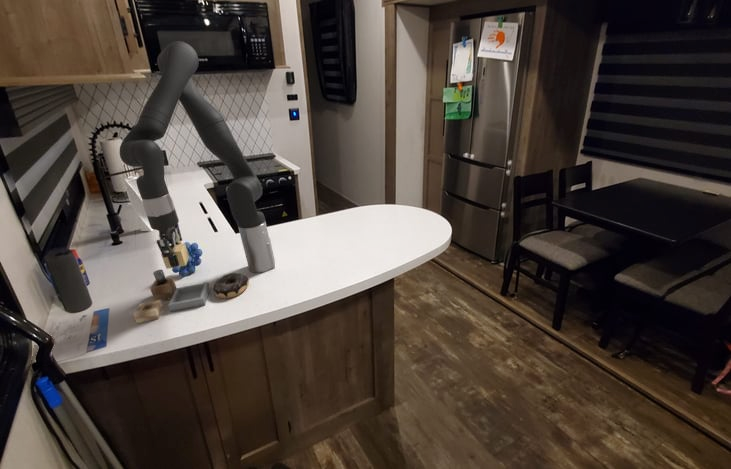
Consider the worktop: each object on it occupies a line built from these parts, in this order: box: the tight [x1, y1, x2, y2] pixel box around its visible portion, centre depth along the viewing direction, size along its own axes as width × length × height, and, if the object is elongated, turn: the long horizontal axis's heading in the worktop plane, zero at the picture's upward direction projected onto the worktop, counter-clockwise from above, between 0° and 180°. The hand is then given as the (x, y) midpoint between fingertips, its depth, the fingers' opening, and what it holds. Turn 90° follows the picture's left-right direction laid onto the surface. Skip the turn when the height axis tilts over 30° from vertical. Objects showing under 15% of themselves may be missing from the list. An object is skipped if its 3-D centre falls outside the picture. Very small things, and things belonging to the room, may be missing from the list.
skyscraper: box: [123, 172, 155, 232], centre depth 175 cm, size 8×8×28 cm
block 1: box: [161, 242, 189, 270], centre depth 113 cm, size 6×6×5 cm
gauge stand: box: [133, 300, 164, 324], centre depth 113 cm, size 6×6×3 cm
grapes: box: [171, 241, 203, 277], centre depth 134 cm, size 12×7×12 cm, turn 136°
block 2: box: [149, 276, 177, 302], centre depth 122 cm, size 6×6×5 cm
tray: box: [168, 282, 211, 313], centre depth 119 cm, size 10×10×2 cm
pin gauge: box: [152, 269, 167, 285], centre depth 122 cm, size 3×3×9 cm
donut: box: [212, 272, 250, 299], centre depth 122 cm, size 11×12×4 cm
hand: (177, 261), depth 114 cm, fingers closed on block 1, 5 cm apart
